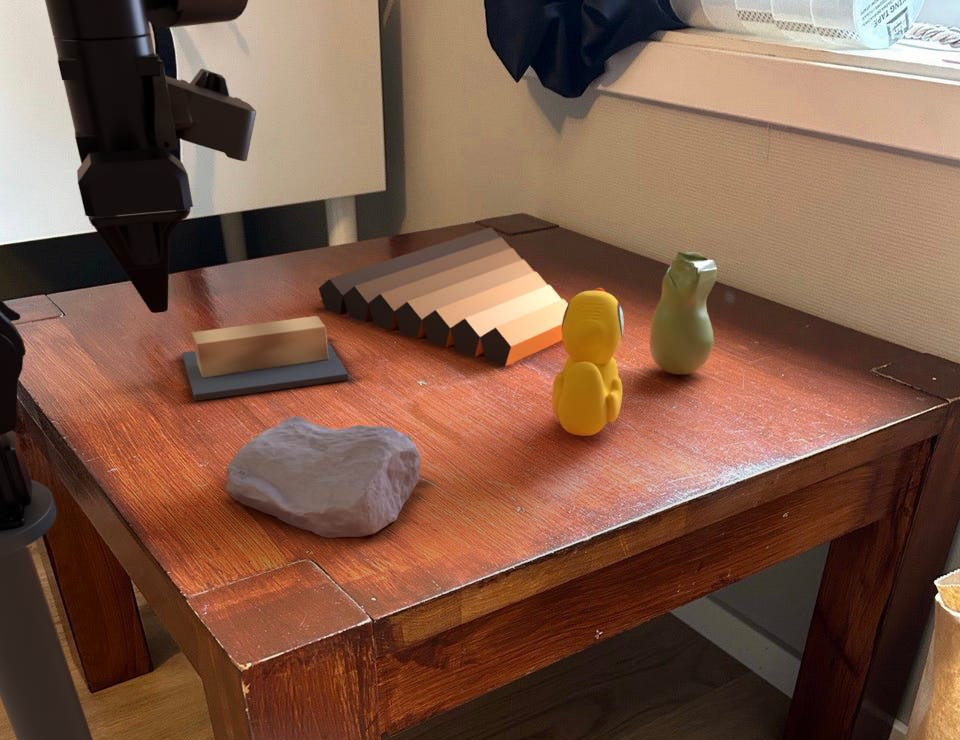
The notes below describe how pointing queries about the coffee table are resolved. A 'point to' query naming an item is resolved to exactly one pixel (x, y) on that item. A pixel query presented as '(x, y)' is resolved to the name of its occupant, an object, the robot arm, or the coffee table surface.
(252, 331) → the maple bar
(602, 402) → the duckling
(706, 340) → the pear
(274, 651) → the coffee table surface
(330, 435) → the stone block
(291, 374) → the grey mat
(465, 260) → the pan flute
